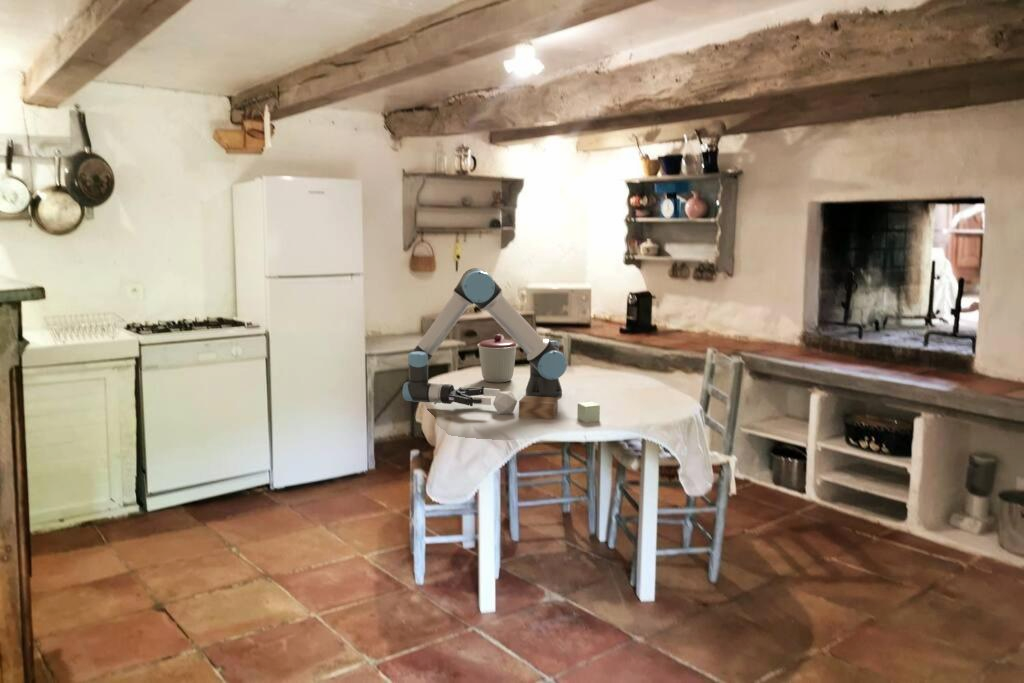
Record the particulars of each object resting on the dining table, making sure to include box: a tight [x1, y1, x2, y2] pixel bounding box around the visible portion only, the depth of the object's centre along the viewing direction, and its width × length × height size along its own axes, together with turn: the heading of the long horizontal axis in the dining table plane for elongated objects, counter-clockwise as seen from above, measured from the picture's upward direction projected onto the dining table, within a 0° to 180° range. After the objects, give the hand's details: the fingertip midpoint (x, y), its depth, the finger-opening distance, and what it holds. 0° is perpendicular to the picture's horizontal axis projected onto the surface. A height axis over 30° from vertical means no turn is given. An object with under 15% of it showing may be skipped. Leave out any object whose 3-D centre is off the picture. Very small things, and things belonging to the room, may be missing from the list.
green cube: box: [576, 401, 601, 423], centre depth 293 cm, size 6×6×6 cm
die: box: [492, 390, 518, 415], centre depth 302 cm, size 8×9×10 cm
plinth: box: [518, 395, 559, 420], centre depth 299 cm, size 13×9×6 cm
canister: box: [477, 334, 519, 384], centre depth 356 cm, size 18×18×21 cm
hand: (495, 397), depth 302 cm, fingers open, 13 cm apart
